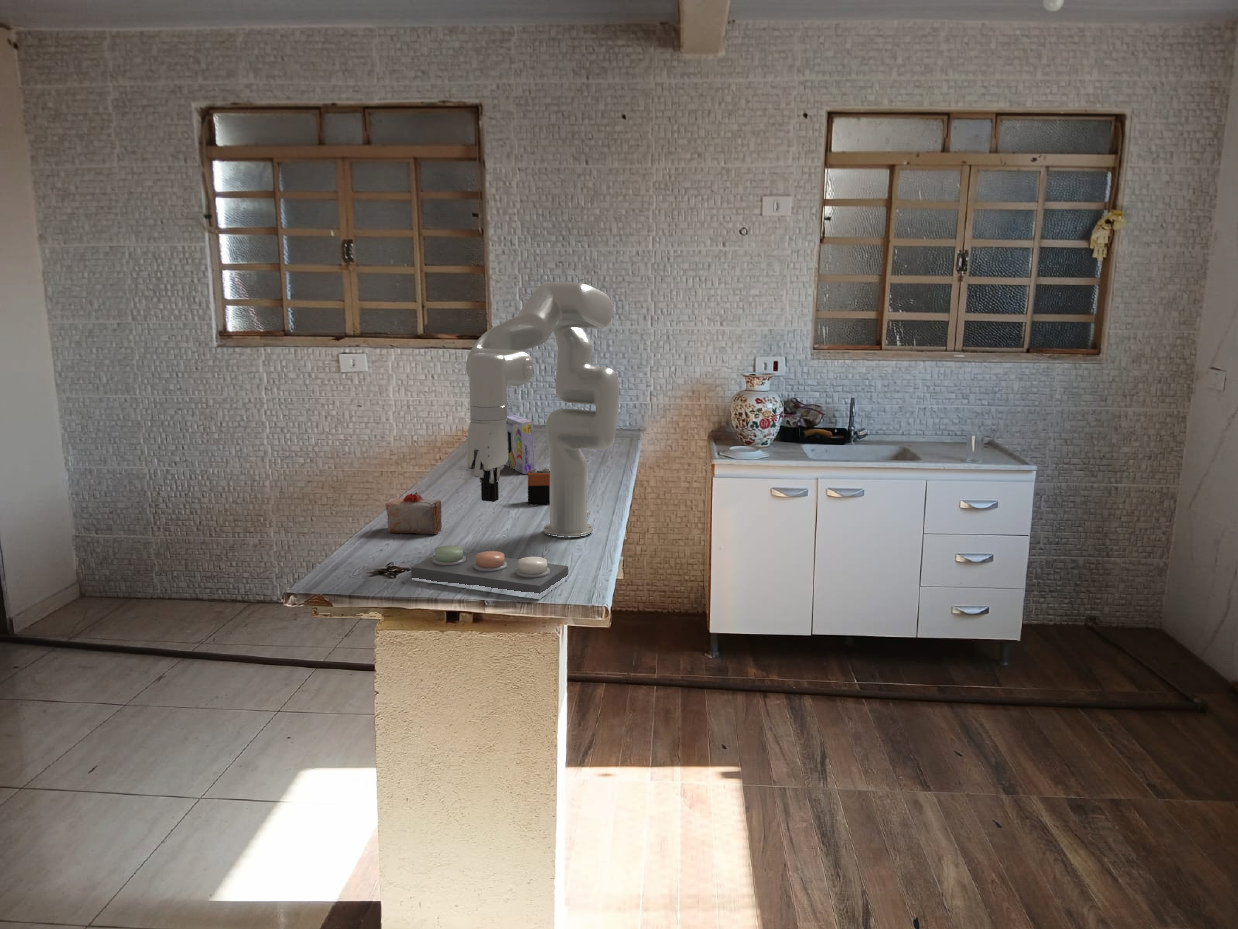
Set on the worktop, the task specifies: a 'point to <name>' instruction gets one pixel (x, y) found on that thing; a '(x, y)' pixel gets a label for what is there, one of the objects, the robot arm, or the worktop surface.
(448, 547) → the button green
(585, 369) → the robot arm
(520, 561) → the button white
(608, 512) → the worktop surface
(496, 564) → the button terracotta
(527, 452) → the cake pan box
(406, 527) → the food item
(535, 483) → the battery
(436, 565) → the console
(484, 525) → the worktop surface
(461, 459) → the worktop surface
